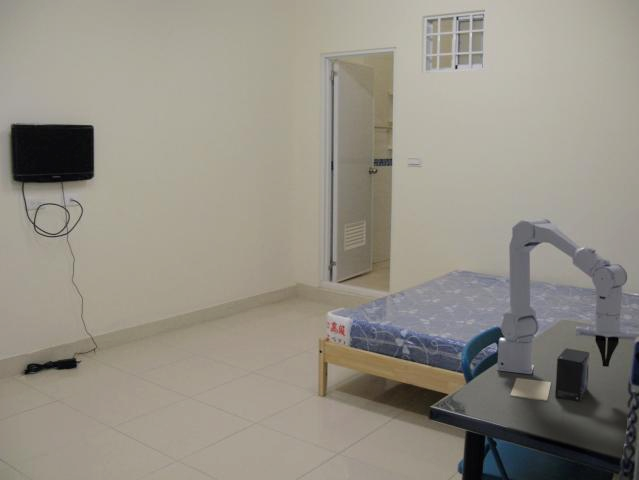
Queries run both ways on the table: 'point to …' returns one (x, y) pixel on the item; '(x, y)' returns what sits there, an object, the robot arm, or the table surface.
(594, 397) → the table surface
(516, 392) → the mat
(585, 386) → the small box
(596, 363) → the table surface
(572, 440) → the table surface
